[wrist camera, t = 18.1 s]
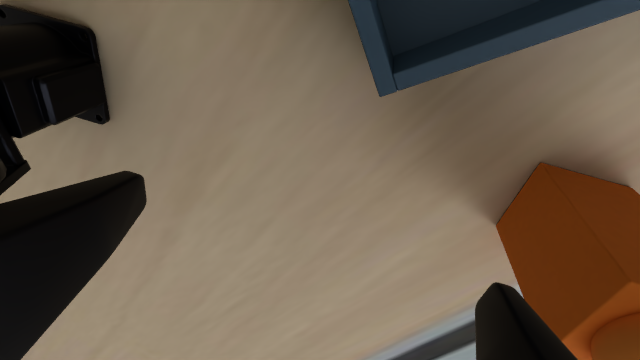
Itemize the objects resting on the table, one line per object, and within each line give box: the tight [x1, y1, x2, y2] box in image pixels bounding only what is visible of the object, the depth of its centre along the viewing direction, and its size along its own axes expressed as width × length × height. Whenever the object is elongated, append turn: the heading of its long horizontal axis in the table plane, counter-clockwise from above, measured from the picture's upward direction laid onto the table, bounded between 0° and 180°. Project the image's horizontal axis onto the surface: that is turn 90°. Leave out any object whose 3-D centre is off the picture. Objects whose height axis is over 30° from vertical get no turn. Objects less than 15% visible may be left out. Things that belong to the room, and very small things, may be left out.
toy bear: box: [496, 163, 640, 360], centre depth 15 cm, size 5×5×12 cm
